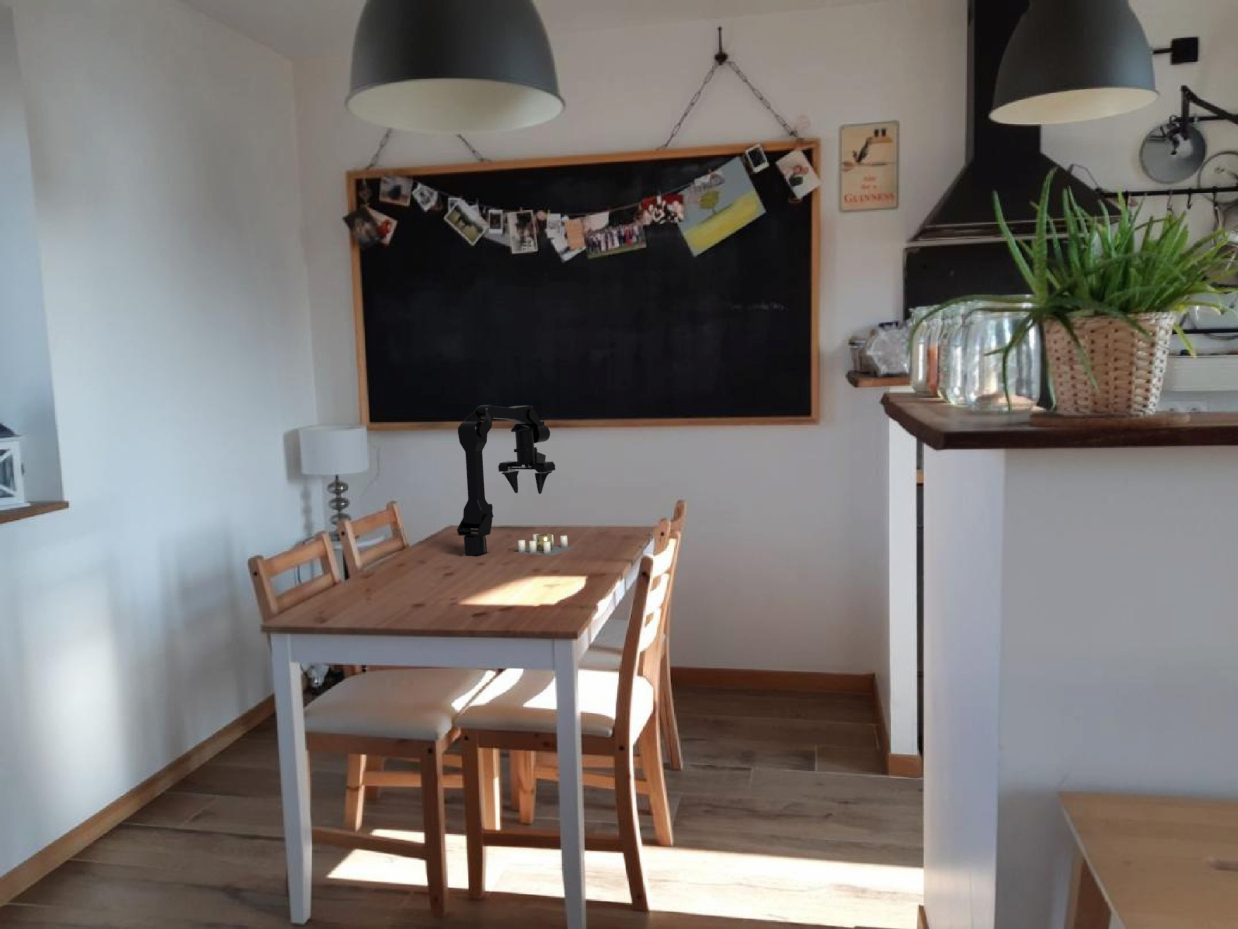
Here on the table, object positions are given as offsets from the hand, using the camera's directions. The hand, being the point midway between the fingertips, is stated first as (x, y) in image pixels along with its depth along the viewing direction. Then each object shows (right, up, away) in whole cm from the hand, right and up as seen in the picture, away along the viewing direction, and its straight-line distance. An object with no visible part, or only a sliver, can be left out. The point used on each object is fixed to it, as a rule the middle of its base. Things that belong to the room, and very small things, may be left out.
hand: (528, 493), depth 304 cm
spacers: (+6, -16, -22) cm, 28 cm away
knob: (+7, -16, -22) cm, 28 cm away
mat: (+7, -17, -22) cm, 29 cm away
